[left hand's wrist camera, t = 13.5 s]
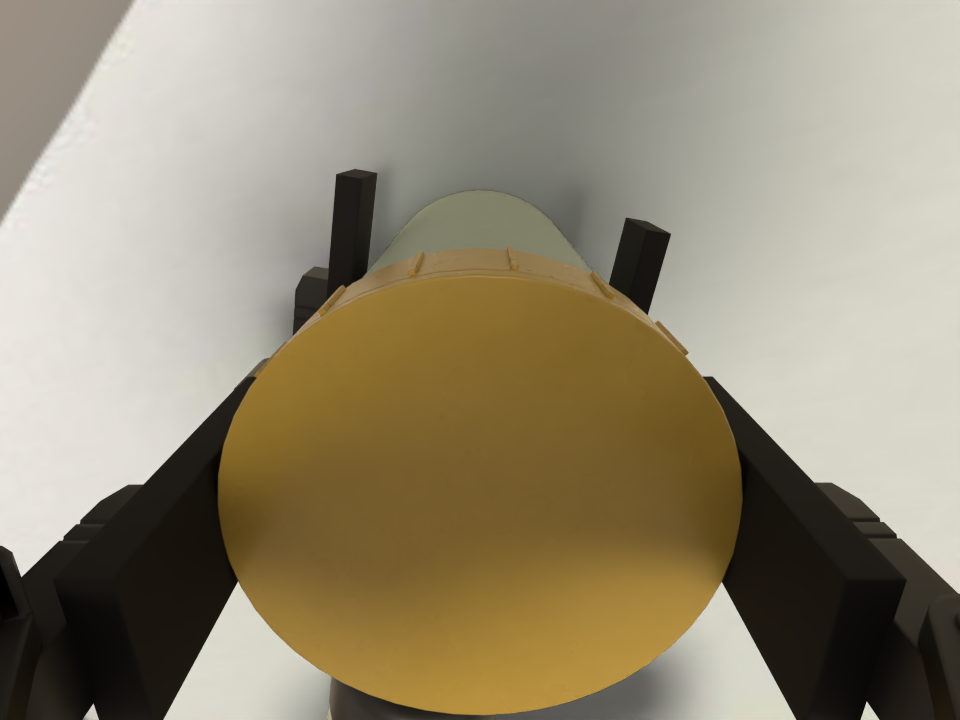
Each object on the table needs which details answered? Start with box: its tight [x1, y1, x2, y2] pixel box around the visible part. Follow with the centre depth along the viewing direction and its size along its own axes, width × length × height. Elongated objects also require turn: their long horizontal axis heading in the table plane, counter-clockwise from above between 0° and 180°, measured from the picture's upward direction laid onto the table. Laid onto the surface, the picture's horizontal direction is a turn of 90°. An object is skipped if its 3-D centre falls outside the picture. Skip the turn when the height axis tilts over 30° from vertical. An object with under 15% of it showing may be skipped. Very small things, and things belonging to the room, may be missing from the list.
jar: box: [363, 190, 592, 278], centre depth 19 cm, size 9×9×17 cm
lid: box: [217, 246, 743, 715], centre depth 11 cm, size 9×9×2 cm
